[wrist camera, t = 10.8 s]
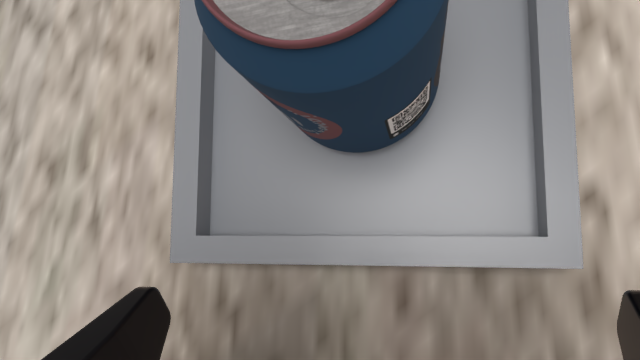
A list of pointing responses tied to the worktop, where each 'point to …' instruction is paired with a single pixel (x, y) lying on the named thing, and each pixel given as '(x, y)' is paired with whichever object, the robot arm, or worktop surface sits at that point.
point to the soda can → (336, 62)
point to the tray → (390, 159)
